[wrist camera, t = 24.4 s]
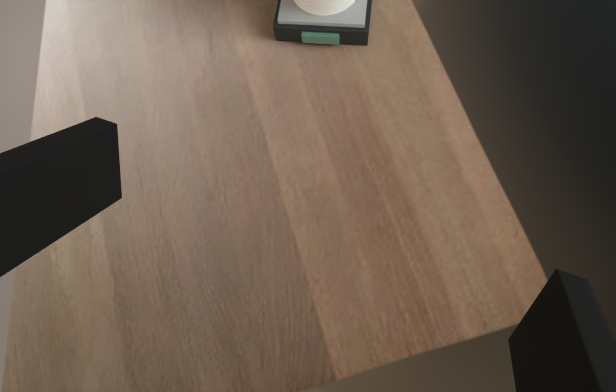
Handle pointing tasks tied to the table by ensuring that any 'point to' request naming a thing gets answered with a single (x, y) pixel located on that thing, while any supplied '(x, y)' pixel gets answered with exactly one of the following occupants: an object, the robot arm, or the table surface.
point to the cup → (324, 6)
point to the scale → (323, 24)
